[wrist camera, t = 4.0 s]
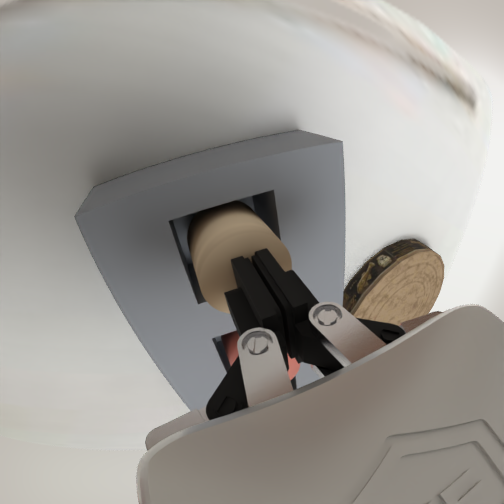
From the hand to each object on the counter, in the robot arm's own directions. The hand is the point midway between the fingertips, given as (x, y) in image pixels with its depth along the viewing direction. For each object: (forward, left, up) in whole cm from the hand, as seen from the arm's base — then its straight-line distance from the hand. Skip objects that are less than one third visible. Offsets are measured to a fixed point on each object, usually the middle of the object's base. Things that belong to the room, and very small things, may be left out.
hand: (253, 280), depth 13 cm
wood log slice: (+16, +17, -8) cm, 25 cm away
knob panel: (+8, 0, -8) cm, 11 cm away
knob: (0, 0, -5) cm, 5 cm away
